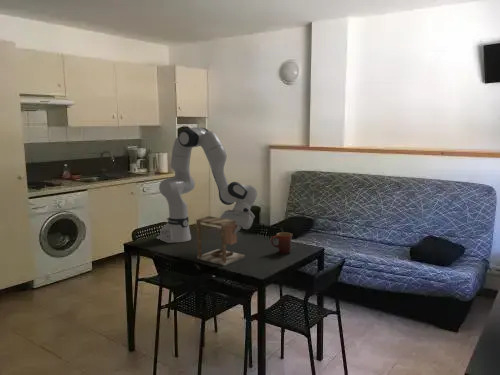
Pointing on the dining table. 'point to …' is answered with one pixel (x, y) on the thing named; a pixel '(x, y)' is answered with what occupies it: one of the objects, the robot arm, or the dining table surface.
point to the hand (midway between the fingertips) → (229, 232)
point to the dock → (222, 255)
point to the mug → (283, 242)
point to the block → (231, 234)
